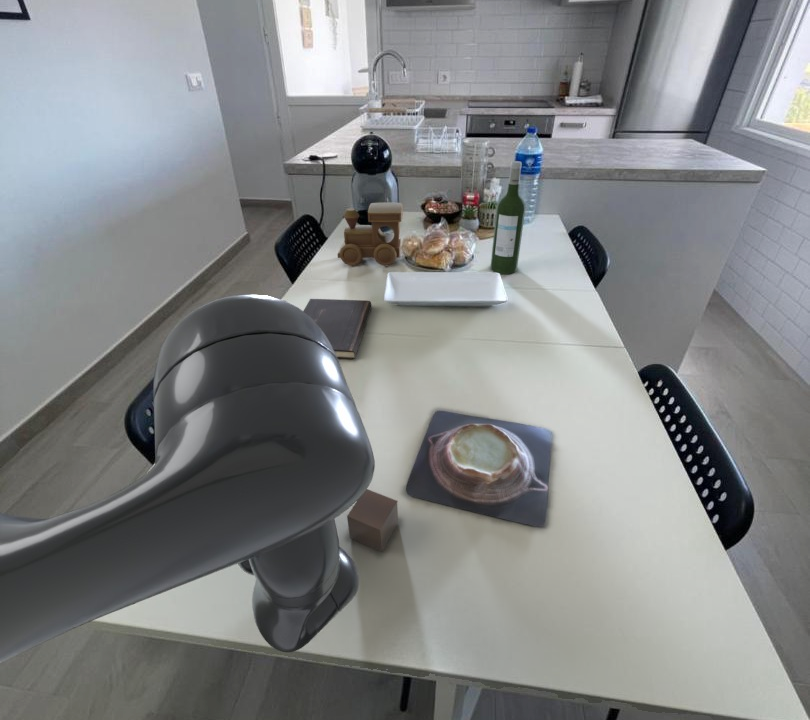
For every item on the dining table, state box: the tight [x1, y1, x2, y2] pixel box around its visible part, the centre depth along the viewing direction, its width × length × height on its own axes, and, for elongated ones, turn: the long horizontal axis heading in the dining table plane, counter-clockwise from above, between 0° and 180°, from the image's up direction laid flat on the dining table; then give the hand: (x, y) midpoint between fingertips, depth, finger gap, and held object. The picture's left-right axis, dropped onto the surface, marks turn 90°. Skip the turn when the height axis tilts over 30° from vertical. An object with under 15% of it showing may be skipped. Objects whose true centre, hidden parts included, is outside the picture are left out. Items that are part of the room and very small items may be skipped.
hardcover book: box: [302, 298, 373, 360], centre depth 106 cm, size 16×23×2 cm
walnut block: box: [346, 488, 399, 553], centre depth 61 cm, size 5×5×5 cm
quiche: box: [405, 410, 552, 528], centre depth 72 cm, size 21×20×4 cm
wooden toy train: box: [337, 201, 404, 267], centre depth 136 cm, size 20×11×17 cm, turn 88°
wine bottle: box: [490, 160, 527, 275], centre depth 126 cm, size 8×8×30 cm
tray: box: [383, 271, 509, 307], centre depth 119 cm, size 17×31×4 cm, turn 88°
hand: (174, 429), depth 65 cm, fingers closed
